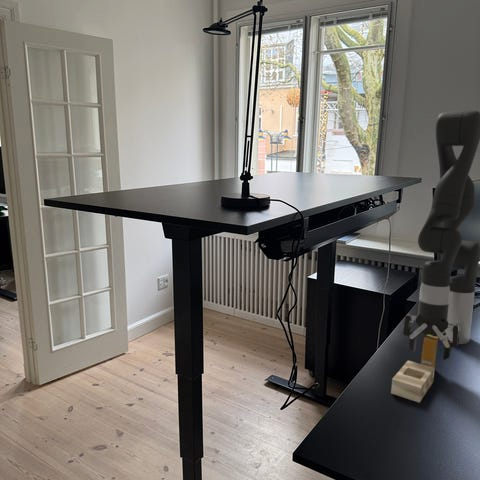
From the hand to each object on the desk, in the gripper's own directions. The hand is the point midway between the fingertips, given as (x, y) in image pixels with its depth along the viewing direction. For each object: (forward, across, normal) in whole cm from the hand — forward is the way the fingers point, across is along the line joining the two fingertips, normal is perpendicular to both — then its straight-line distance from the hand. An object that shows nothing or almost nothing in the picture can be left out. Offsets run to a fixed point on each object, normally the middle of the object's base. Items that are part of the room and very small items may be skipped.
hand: (428, 354), depth 124 cm
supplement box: (+5, 0, 0) cm, 5 cm away
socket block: (+5, 0, +12) cm, 13 cm away
